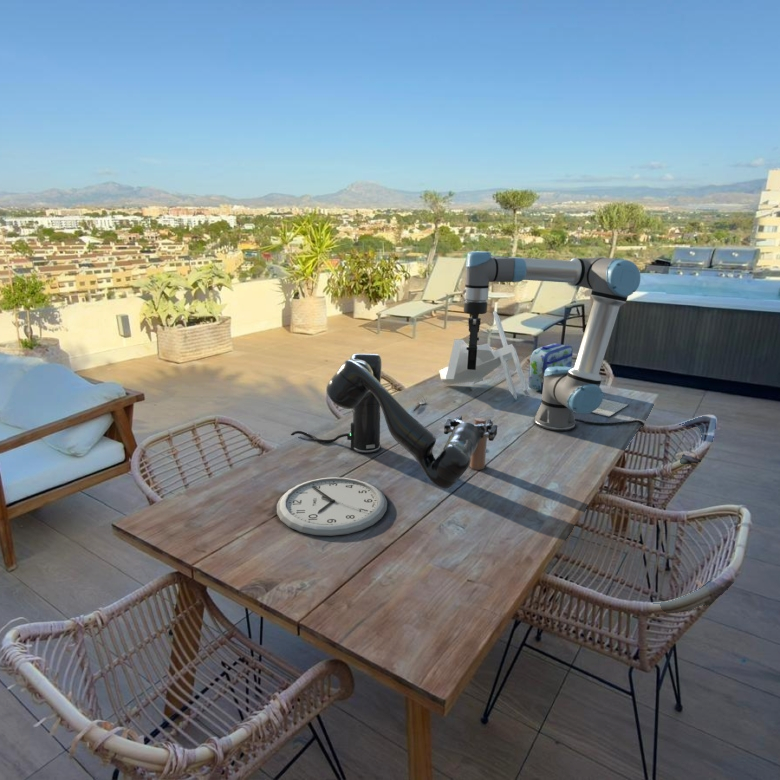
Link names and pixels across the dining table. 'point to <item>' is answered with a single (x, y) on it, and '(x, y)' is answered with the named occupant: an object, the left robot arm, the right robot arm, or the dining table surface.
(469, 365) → the right robot arm
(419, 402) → the fork
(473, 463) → the bottle
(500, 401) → the dining table surface
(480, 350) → the white plastic object
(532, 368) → the lunch box
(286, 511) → the wall clock
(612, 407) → the invitation card
